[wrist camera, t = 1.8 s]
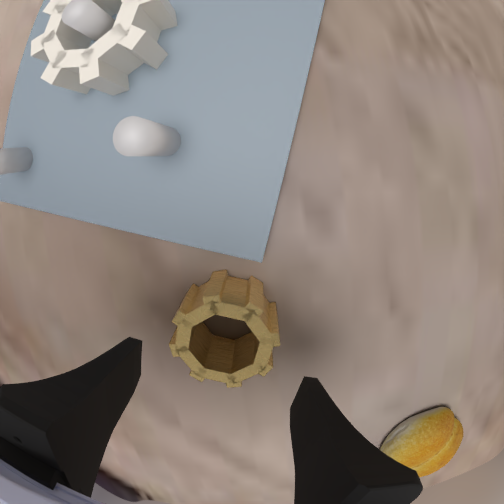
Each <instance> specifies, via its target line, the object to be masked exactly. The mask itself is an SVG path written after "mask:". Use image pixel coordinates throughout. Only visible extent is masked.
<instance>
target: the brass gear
mask: <svg viewBox="0 0 504 504" xmlns="http://www.w3.org/2000/svg"><path fill="white" fill-rule="evenodd" d="M213 315H220V316H224V317H228V318H233V319H237V320H242V321H245V322H246V324H247V325H248V327H249V328H250V329H251V331H252V332H250V333H248V334H246V335H244V336H242V337H240V338H238V339H236V340H233V339H229V338H224V337H220V336H215V335H213V334H212V333H211V332H210V331H209V329H208V328H207V327H206V325H205V324H204V323H203V322H202V321H204V320H206V319H208V318H210V317H212V316H213ZM172 322H173V323H174V324H176V325H177V328H176V330H175V332H174V335H173V337H172V339H171V341H170V343H169V346H170V349H171V352H172V355H173V357H181V359H182V360H183V361H184V362H185V363H186V364H187V365H188V367H189V368H190V369H191V371H190V374H189V375H190V376H192V377H194V378H195V379H197V380H199V381H201V382H202V381H203V380H204V379H205V378H206V379H210V380H215V381H219V382H224V383H226V385H227V388H229V387H241V386H242V381H243V380H245V379H247V378H249V377H252V376H254V375H256V374H260V375H262V376H263V377H264V376H265V375H266V374H267V373H268V372H269V371H270V370H271V369H272V368H273V357H272V349H273V347H276V346H280V336H279V326H278V316H277V309H276V302H271V303H269V302H268V300H267V299H266V297H265V296H264V294H263V283H262V282H261V281H259V280H258V279H256V278H255V277H253V276H252V275H251V276H250V278H249V279H248V280H245V279H240V278H236V277H231V276H228V274H227V270H221V271H214V272H212V275H211V277H210V280H209V281H208V282H206V283H204V284H203V285H201V286H199V287H198V286H196V285H195V284H192V286H191V287H190V289H189V290H188V292H187V293H186V295H185V297H184V299H183V301H182V303H181V305H180V306H179V308H178V310H177V312H176V314H175V316H174V318H173V320H172Z"/></svg>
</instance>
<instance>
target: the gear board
mask: <svg viewBox="0 0 504 504" xmlns="http://www.w3.org/2000/svg"><path fill="white" fill-rule="evenodd" d="M168 1H169V2H170V4H171V5H172V7H173V8H174V10H175V12H176V19H177V26H176V27H172V28H168V29H165V30H161V32H160V35H159V38H158V41H157V43H158V44H159V45H160V46H161V47H162V48H163V49H164V50H165V51H166V52H167V53H168V55H167V57H166V58H165V59H164V61H163V62H162V63H161V65H160V66H159V67H158V69H157V70H156V69H155V68H153V67H151V66H149V65H147V64H145V63H143V64H142V65H141V66H139V67H138V68H137V69H135V70H134V71H133V72H131V73H130V74H129V75H128V81H129V89H130V90H128V91H125V92H122V93H119V94H117V95H114V96H112V95H109V94H107V93H104V92H101V91H98V90H96V89H93V88H90V90H89V92H88V93H87V94H83V93H80V92H76V91H73V90H69V89H66V88H62V87H58V86H55V85H51V84H50V83H48V82H46V81H45V80H43V79H41V76H42V74H43V72H44V70H45V69H46V67H47V65H48V63H49V62H46V61H43V60H40V59H37V58H34V57H31V41H32V40H33V39H35V38H36V37H38V36H40V35H41V34H43V33H44V32H45V29H46V26H47V24H48V21H49V19H50V15H48V14H46V13H44V12H42V11H43V10H44V9H45V7H46V6H47V4H48V3H49V2H50V0H44V1H43V4H42V6H41V8H40V10H39V13H38V15H37V18H36V20H35V23H34V25H33V28H32V31H31V33H30V36H29V39H28V42H27V45H26V48H25V51H24V54H23V57H22V60H21V64H20V67H19V71H18V74H17V78H16V82H15V86H14V90H13V94H12V98H11V103H10V108H9V113H8V118H7V124H6V130H5V136H4V143H3V148H1V149H0V201H2V202H7V203H11V204H15V205H19V206H23V207H27V208H31V209H35V210H39V211H43V212H47V213H52V214H56V215H60V216H64V217H68V218H72V219H77V220H81V221H85V222H89V223H93V224H98V225H102V226H106V227H110V228H114V229H119V230H123V231H127V232H131V233H136V234H140V235H144V236H148V237H153V238H157V239H161V240H166V241H170V242H174V243H178V244H183V245H187V246H191V247H196V248H200V249H204V250H209V251H213V252H218V253H222V254H226V255H231V256H235V257H239V258H244V259H248V260H253V261H257V262H261V263H262V260H263V256H264V252H265V248H266V244H267V240H268V236H269V232H270V228H271V225H272V221H273V217H274V213H275V208H276V204H277V200H278V196H279V192H280V188H281V184H282V180H283V176H284V172H285V168H286V164H287V160H288V156H289V152H290V147H291V143H292V139H293V135H294V131H295V127H296V123H297V118H298V114H299V110H300V106H301V102H302V97H303V93H304V89H305V85H306V80H307V76H308V72H309V67H310V63H311V59H312V55H313V50H314V46H315V42H316V37H317V33H318V28H319V24H320V20H321V15H322V11H323V6H324V2H325V0H168ZM117 15H118V14H114V15H113V16H110V15H109V14H107V13H106V12H105V11H104V10H103V9H101V8H100V7H99V6H98V5H97V4H95V3H94V2H93V1H92V0H72V1H71V2H70V3H69V4H68V5H67V6H66V7H65V9H64V11H63V13H62V21H63V23H65V24H66V25H68V26H70V27H72V28H73V29H75V30H77V31H79V32H80V33H82V34H84V35H85V36H87V37H89V38H90V39H92V40H91V43H90V46H91V45H92V44H94V43H95V42H96V41H97V40H98V39H100V38H101V37H102V36H103V35H105V34H106V33H107V32H108V31H110V30H111V29H112V28H113V25H114V23H115V20H116V17H117ZM90 46H89V47H90Z"/></svg>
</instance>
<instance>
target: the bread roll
mask: <svg viewBox="0 0 504 504" xmlns="http://www.w3.org/2000/svg"><path fill="white" fill-rule="evenodd" d="M462 438H463V428H462V424H461V423H460V421H459V420H457V419H456V418H455V417H454V414H453V412H452V411H451V410H450V409H448V408H446V407H438V408H434V409H431V410H428V411H425V412H422V413H420V414H417V415H415V416H412V417H410V418H408V419H407V420H405V421H403V422H402V423H401V424H399V425H398V426H397V427H396V428H395V429H394V430H393V431H392V432H391V433H390V434H389V435H388V436H387V438H386V439H385V441H384V443H383V444H382V446H381V448H380V450H381V451H382V452H383V453H385V454H386V455H388V456H389V457H391V458H393V459H394V460H396V461H397V462H399V463H401V464H403V465H405V466H407V467H409V468H411V469H413V470H415V471H417V473H418V476H419V477H422V476H426V475H429V474H431V473H433V472H435V471H437V470H439V469H440V468H442V467H443V466H445V465H446V464H447V463H448V462H449V461H450V460H451V459H452V457H453V456H454V455H455V453H456V451H457V450H458V448H459V446H460V444H461V441H462Z"/></svg>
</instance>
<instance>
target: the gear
mask: <svg viewBox="0 0 504 504" xmlns="http://www.w3.org/2000/svg"><path fill="white" fill-rule="evenodd" d="M71 1H72V0H50V2H49V3H48V4H47V6H46V7H45V9H44V10H43V11H42V12H44V13H46V14H48V15H50V19H49V21H48V24H47V26H46V29H45V32H44V33H43V34H41V35H40V36H38V37H36V38H35V39H33V40H32V41H31V57H34V58H37V59H40V60H43V61H46V62H49V63H48V65H47V67H46V69H45V70H44V72H43V74H42V76H41V79H43V80H45V81H46V82H48V83H50V84H51V85H55V86H58V87H62V88H66V89H69V90H73V91H76V92H80V93H83V94H87V93H88V92H89V90H90V88H93V89H96V90H98V91H101V92H104V93H107V94H109V95H112V96H114V95H117V94H119V93H122V92H125V91H128V90H130V89H129V81H128V75H129V74H130V73H131V72H133V71H134V70H135V69H137V68H138V67H139V66H141V65H142V64H143V63H145V64H147V65H149V66H151V67H153V68H155V69H156V70H157V69H158V67H159V66H160V65H161V63H162V62H163V61H164V59H165V58H166V57H167V55H168V53H167V52H166V51H165V50H164V49H163V48H162V47H161V46H160V45H159V44H158V43H157V41H158V38H159V35H160V32H161V30H165V29H168V28H172V27H176V26H177V19H176V12H175V10H174V8H173V7H172V5H171V4H170V2H169V1H168V0H92V1H93V2H94V3H95V4H97V5H98V6H99V7H100V8H101V9H103V10H104V11H105V12H106V13H107V14H109V15H110V16H113V15H114V14H118V15H117V17H116V20H115V23H114V25H113V28H112V29H111V30H110V31H108V32H107V33H106V34H105V35H103V36H102V37H101V38H100V39H98V40H97V41H96V42H95V43H94V44H92V45H91V46H90V43H91V40H92V39H90V38H89V37H87V36H85V35H84V34H82V33H80V32H79V31H77V30H75V29H73V28H72V27H70V26H68V25H66V24H65V23H63V21H62V13H63V11H64V9H65V7H66V6H67V5H68V4H69V3H70V2H71ZM89 46H90V47H89Z"/></svg>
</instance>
